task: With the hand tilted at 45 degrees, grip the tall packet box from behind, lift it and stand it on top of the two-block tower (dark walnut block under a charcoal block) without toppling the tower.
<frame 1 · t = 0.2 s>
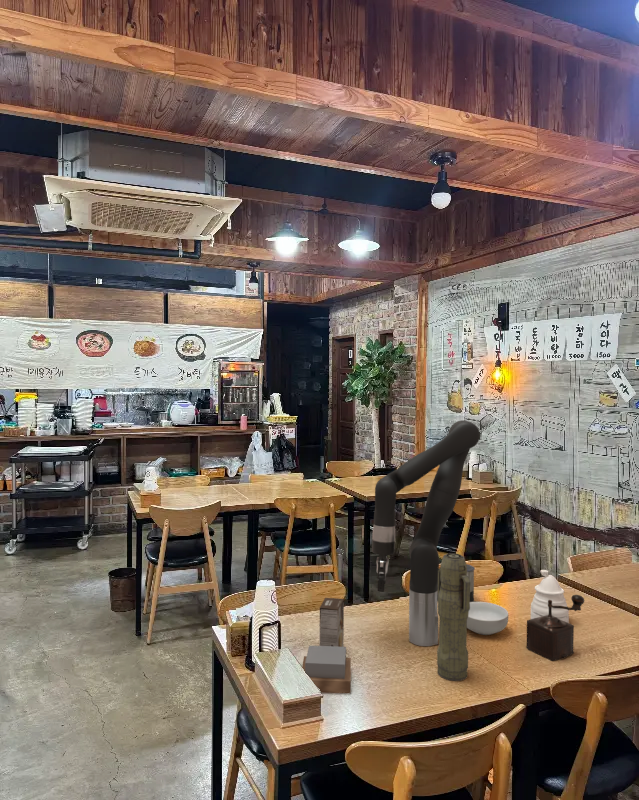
hand: (381, 587, 193), 18 cm above the table, tool pointing down, fingers open, 8 cm apart
walnut base block: (326, 681, 167), on the table, touching charcoal top block
honey pot: (549, 621, 211), on the table
manual coffee grinder: (555, 650, 187), on the table
coffee box: (331, 653, 184), on the table
thermos: (452, 674, 171), on the table
milk frother: (452, 602, 228), on the table
cereal bowl: (483, 630, 202), on the table
charcoal top block: (326, 668, 167), point 3 cm above the table, touching walnut base block
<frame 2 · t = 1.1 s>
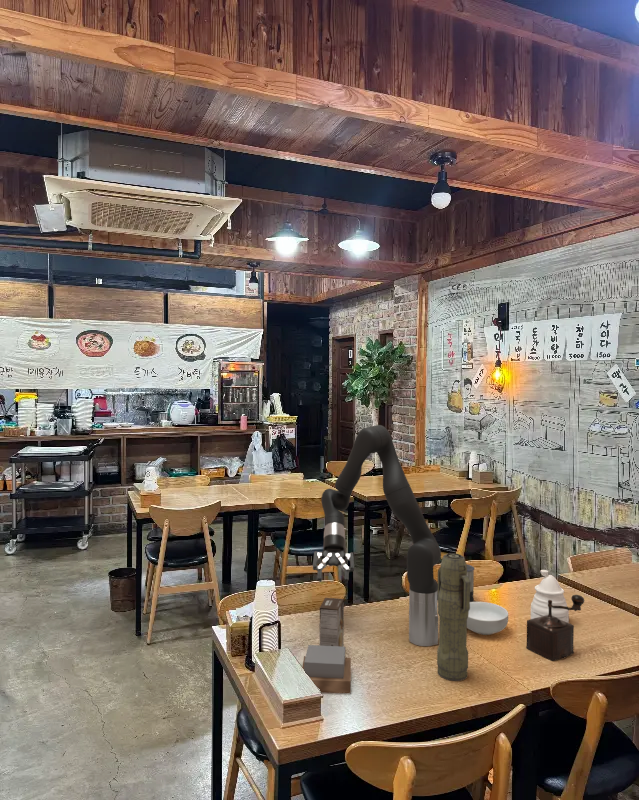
hand: (332, 581, 196), 18 cm above the table, tool tilted 45°, fingers open, 8 cm apart
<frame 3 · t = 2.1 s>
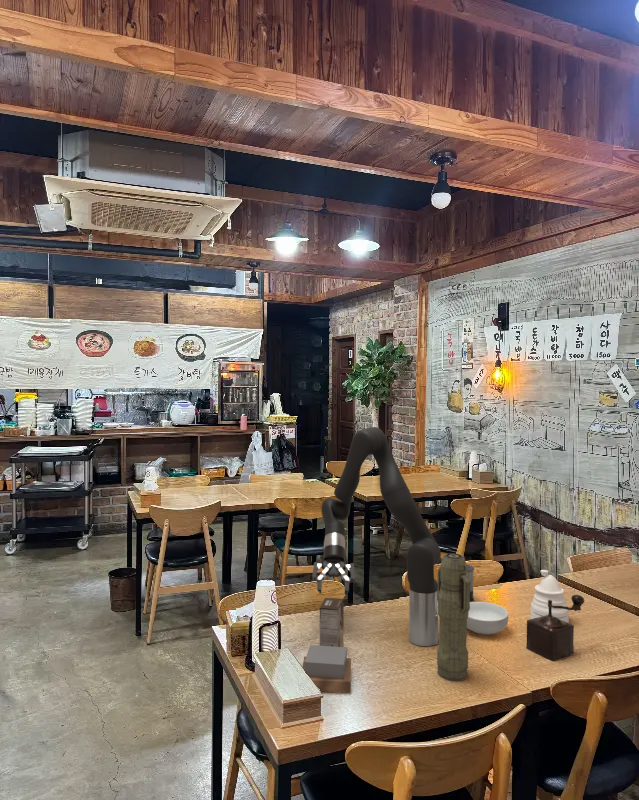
hand: (333, 592, 193), 16 cm above the table, tool tilted 45°, fingers open, 8 cm apart
nothing on the table moved.
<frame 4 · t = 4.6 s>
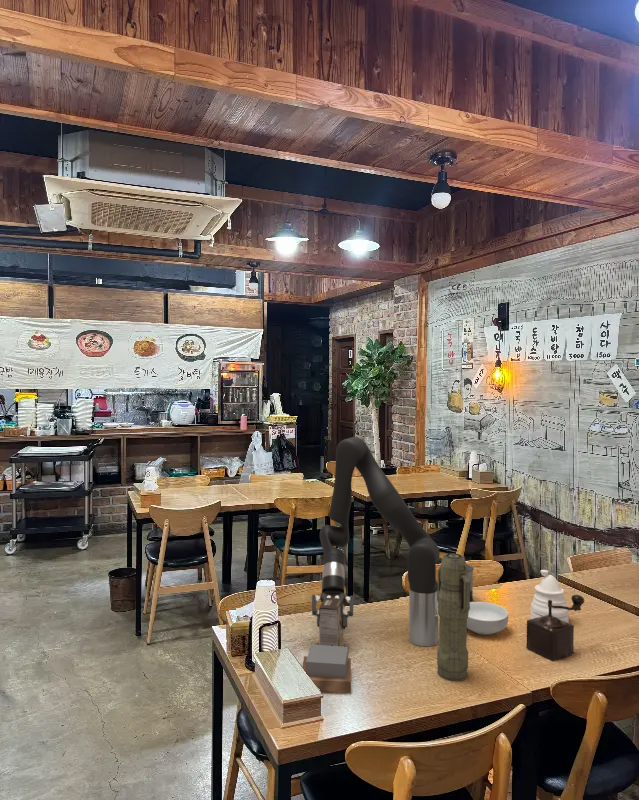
hand: (332, 627, 184), 8 cm above the table, tool tilted 45°, fingers closed on coffee box, 7 cm apart
coffee box: (331, 653, 184), on the table, touching gripper
when the fingers open (17 cm above the table, at t = 11.7 s): coffee box drops 2 cm, point 7 cm above the table.
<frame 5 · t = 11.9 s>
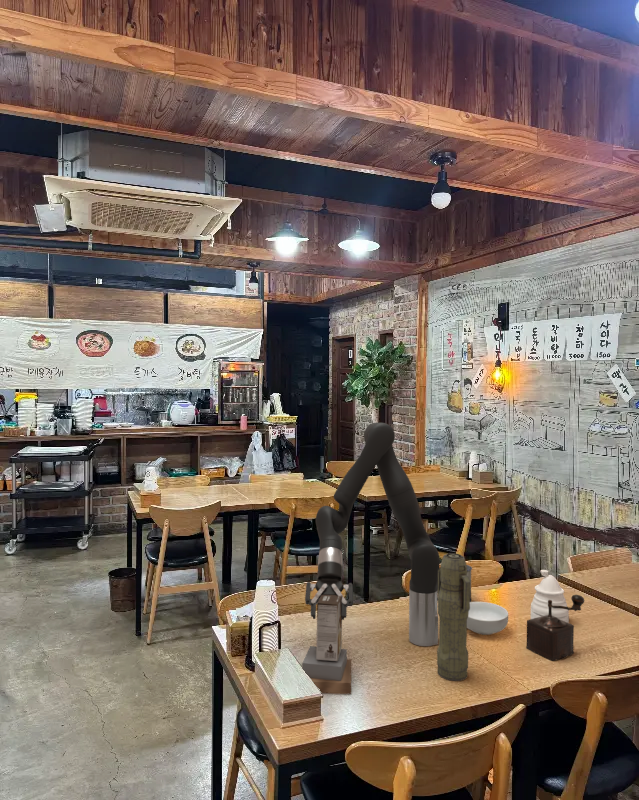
hand: (328, 618, 167), 18 cm above the table, tool tilted 45°, fingers open, 8 cm apart
coffee box: (329, 655, 167), point 7 cm above the table, touching gripper
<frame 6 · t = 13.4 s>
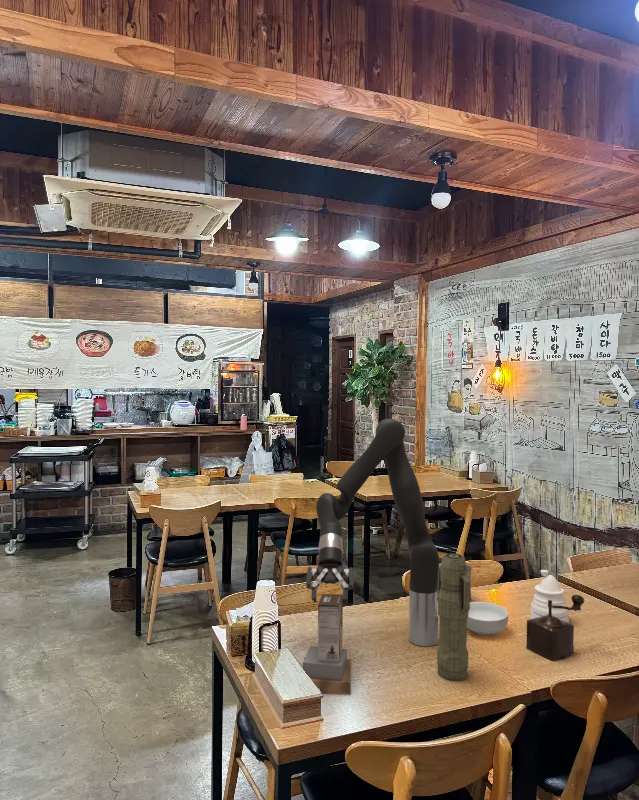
hand: (329, 601, 170), 21 cm above the table, tool tilted 45°, fingers open, 8 cm apart
coffee box: (330, 655, 167), point 7 cm above the table, touching charcoal top block, gripper
charcoal top block: (325, 669, 166), point 3 cm above the table, touching coffee box, walnut base block
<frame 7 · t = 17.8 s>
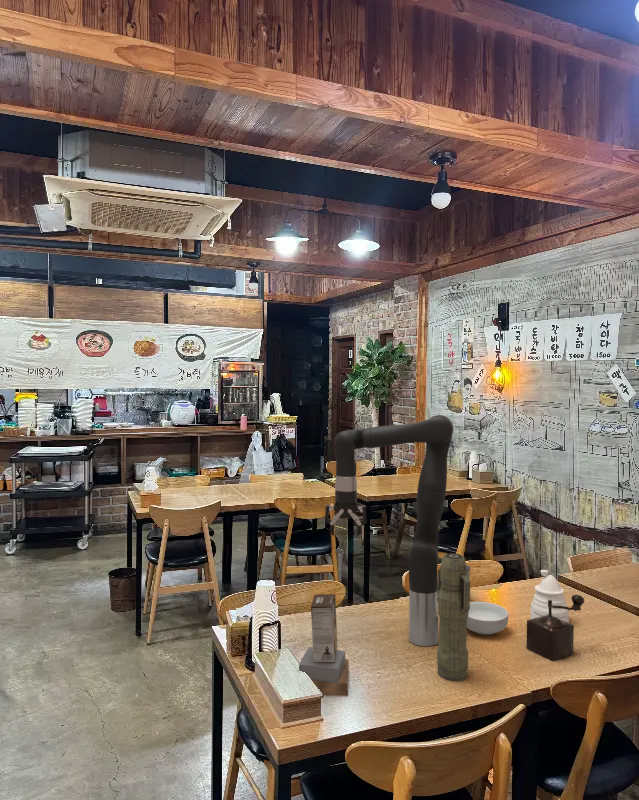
hand: (345, 535, 200), 33 cm above the table, tool pointing down, fingers open, 8 cm apart
walnut base block: (323, 683, 166), on the table
coffee box: (325, 655, 166), point 7 cm above the table, touching charcoal top block
charcoal top block: (322, 671, 165), point 3 cm above the table, touching coffee box
at the end: coffee box inside the target area on the charcoal top block (1.4 cm from its centre), point 4.0 cm above the charcoal top block's base; coffee box tilted 3°; charcoal top block moved 2.3 cm from its start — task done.
